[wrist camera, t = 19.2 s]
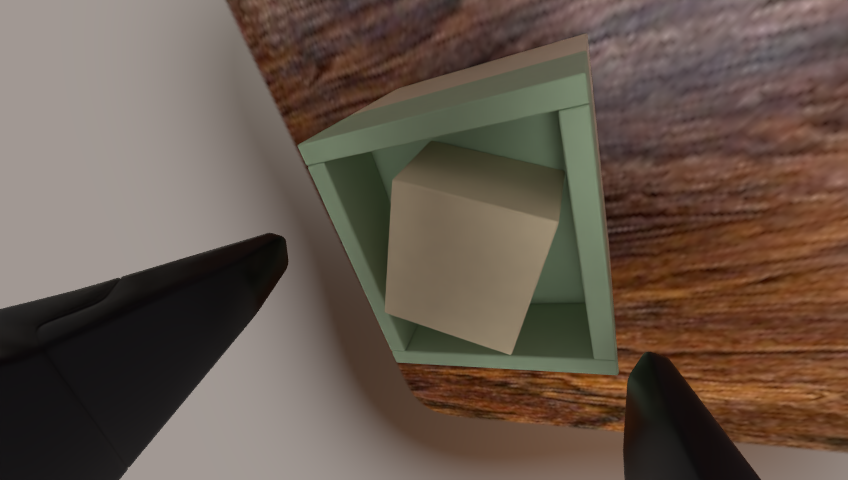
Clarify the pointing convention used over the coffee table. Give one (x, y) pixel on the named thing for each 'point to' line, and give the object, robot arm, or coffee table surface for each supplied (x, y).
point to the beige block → (469, 241)
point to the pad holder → (498, 135)
